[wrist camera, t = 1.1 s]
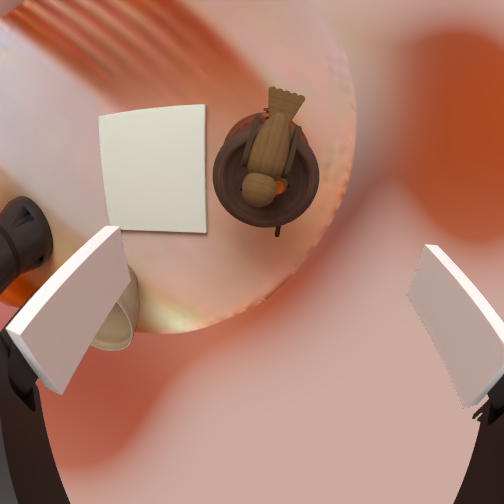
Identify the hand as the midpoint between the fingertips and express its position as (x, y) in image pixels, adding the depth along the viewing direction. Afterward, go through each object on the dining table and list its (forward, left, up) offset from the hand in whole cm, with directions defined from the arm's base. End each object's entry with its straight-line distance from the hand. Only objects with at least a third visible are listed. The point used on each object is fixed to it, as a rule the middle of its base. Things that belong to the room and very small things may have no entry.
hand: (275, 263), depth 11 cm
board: (-16, -2, -27) cm, 31 cm away
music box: (0, 0, -27) cm, 27 cm away
